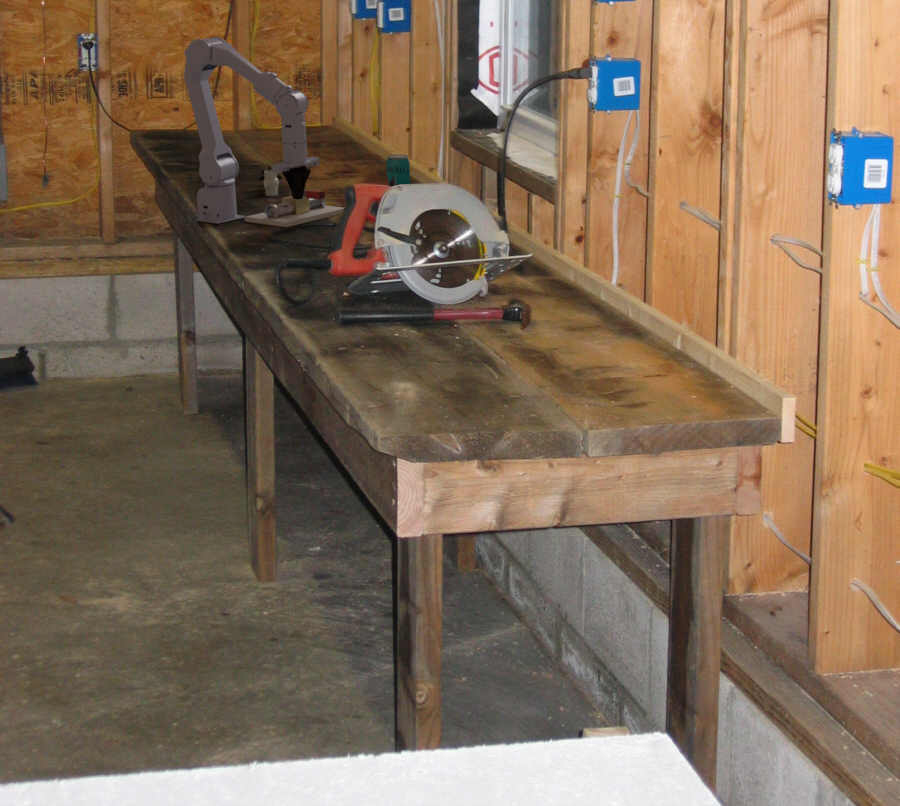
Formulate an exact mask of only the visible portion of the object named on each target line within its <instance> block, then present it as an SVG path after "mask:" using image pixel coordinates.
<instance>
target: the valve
mask: <svg viewBox="0 0 900 806" xmlns="http://www.w3.org/2000/svg"><path fill="white" fill-rule="evenodd" d="M260 173H261V174H262V175H259V176H258V178H257V179H258V181H260V182H261V181H262V182H261V187H262V188H265V189H264V190H265V196H267V197H274V196H275V197H276V196H279V190H278V189H279V187H280V185H281V184H280V181H279V180H282V179H283V175H281V174H279V175H278V173H272V165H268V166H267V170H266V169H264V168H261V169H260Z"/></svg>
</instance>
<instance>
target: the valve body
mask: <svg viewBox="0 0 900 806" xmlns="http://www.w3.org/2000/svg"><path fill="white" fill-rule="evenodd" d="M326 202H327V200H326V197H325V198H324V199H311V198H306V197H303V199H299V200H298V199H293V196H291V195H289V196H284V197H282V198H281V203H276V204H274V203H270V204H267V205H266V206H265V208H264V212H265V213H266V216H267V217H268V218H274V219H275V218H277V217H279V216H283V215H288V214H295V215H298V214H302V213H306V212H310V209H314V208H318V207H321V208H322V207H325V205H326V204H327V203H326ZM326 206H327V205H326Z"/></svg>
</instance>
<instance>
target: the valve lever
mask: <svg viewBox="0 0 900 806" xmlns="http://www.w3.org/2000/svg"><path fill="white" fill-rule="evenodd" d="M325 192H326V191H325V190H321V189H320V190H319V189H304V194H303V197H306V198H311V199H324V198H325V199H326V193H325ZM289 196H292V193H291V190H290V189H289Z"/></svg>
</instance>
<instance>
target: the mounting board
mask: <svg viewBox="0 0 900 806" xmlns="http://www.w3.org/2000/svg"><path fill="white" fill-rule="evenodd" d="M344 208H345V207H340V206H335V205H334V206H333V205H325V207H322V208H321V207H318V208H314V209H310V212H306V213H302V214H298V215H295V214H288V215H283V216H279V217H277V218H275V219H274V218H268V217H267V216H266V213H265V211H264V212H261V213H255V214H252V215H247V216H245V218H244V220H245V222H247V223H254V224H261V225H268V226H276V227H284V228H288V227H293V226H297V225H300V224H305V223H310V222H313V221H317V220H322V219H327V218H331V217H335V216H338V215H342V214H341V213H342V212H343V209H344Z"/></svg>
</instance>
